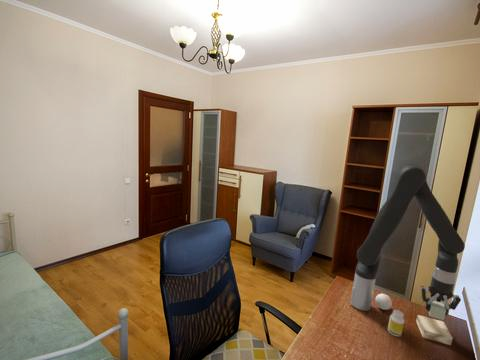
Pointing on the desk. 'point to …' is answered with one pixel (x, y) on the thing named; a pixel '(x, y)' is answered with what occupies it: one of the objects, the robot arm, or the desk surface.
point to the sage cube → (437, 310)
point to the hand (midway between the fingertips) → (435, 312)
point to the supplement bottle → (396, 323)
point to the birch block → (434, 329)
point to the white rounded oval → (383, 301)
